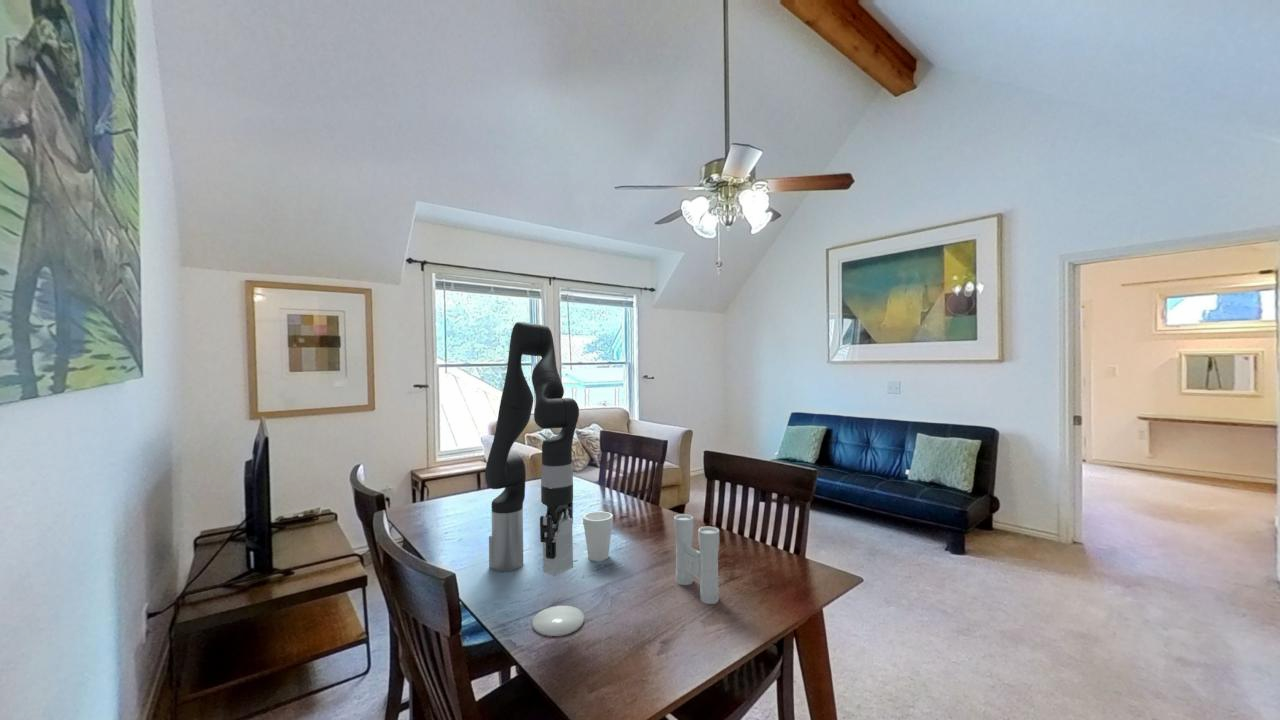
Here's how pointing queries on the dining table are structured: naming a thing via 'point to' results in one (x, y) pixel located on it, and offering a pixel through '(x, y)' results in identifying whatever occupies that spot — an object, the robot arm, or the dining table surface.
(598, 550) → the foam cup
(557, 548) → the skincare box
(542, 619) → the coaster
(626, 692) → the dining table surface
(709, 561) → the binoculars
